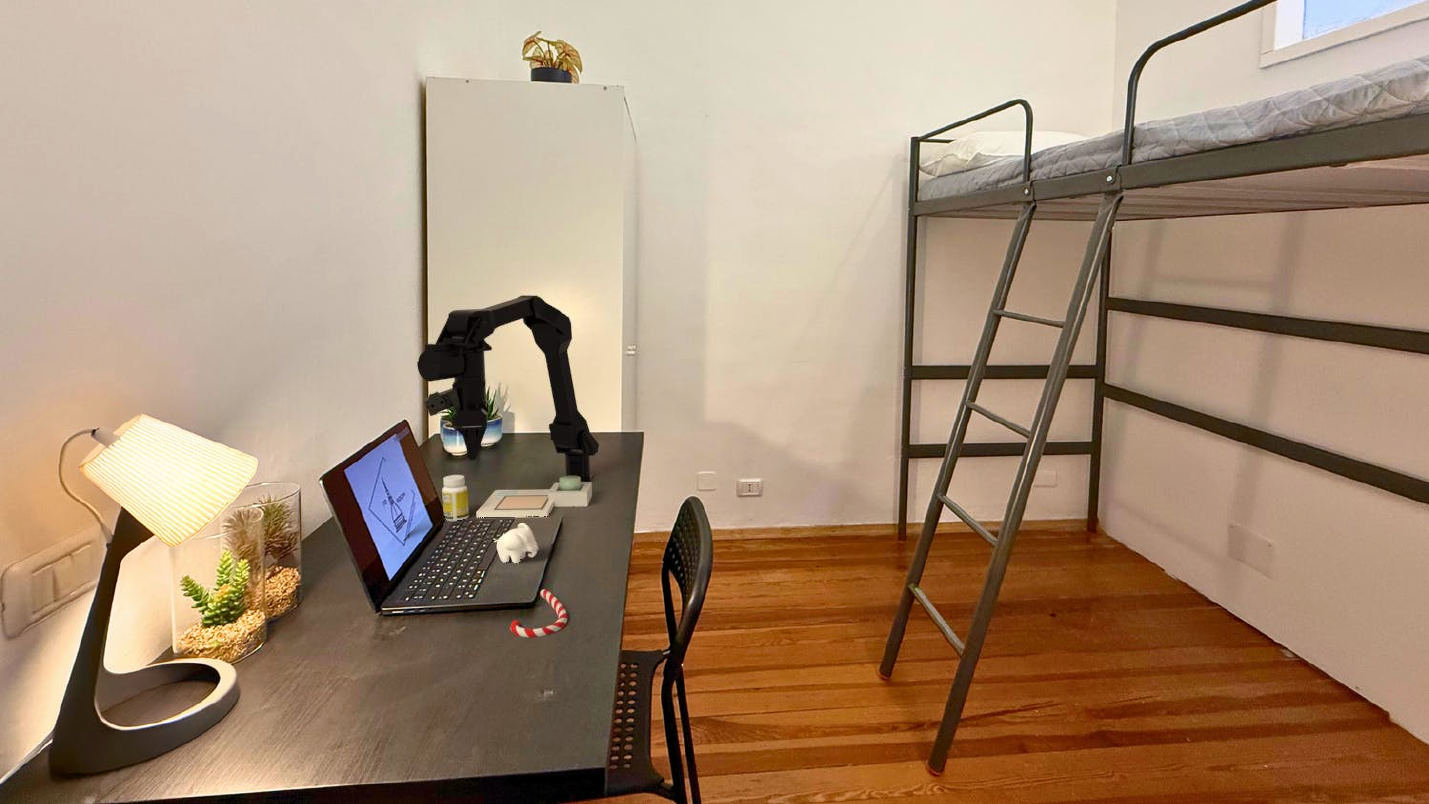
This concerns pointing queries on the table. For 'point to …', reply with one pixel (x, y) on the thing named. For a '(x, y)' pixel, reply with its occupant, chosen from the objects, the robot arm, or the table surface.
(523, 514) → the colouring board
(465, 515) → the supplement bottle
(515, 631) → the candy cane
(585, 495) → the button box
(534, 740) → the table surface
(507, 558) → the elephant figurine
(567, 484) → the button
